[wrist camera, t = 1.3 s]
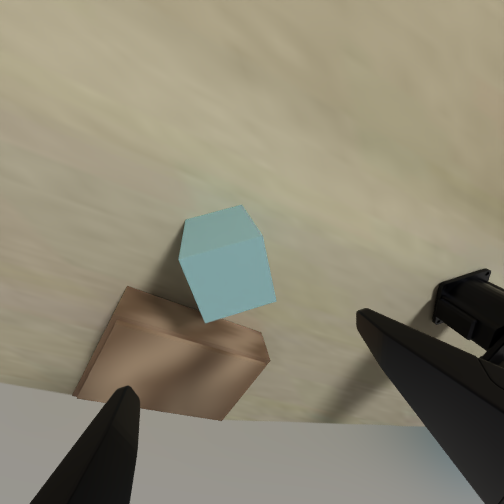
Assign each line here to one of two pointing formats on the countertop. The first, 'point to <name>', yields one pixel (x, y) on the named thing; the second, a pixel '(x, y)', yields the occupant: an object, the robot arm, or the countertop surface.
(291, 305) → the countertop surface
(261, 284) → the teal block
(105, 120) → the countertop surface
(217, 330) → the walnut block
